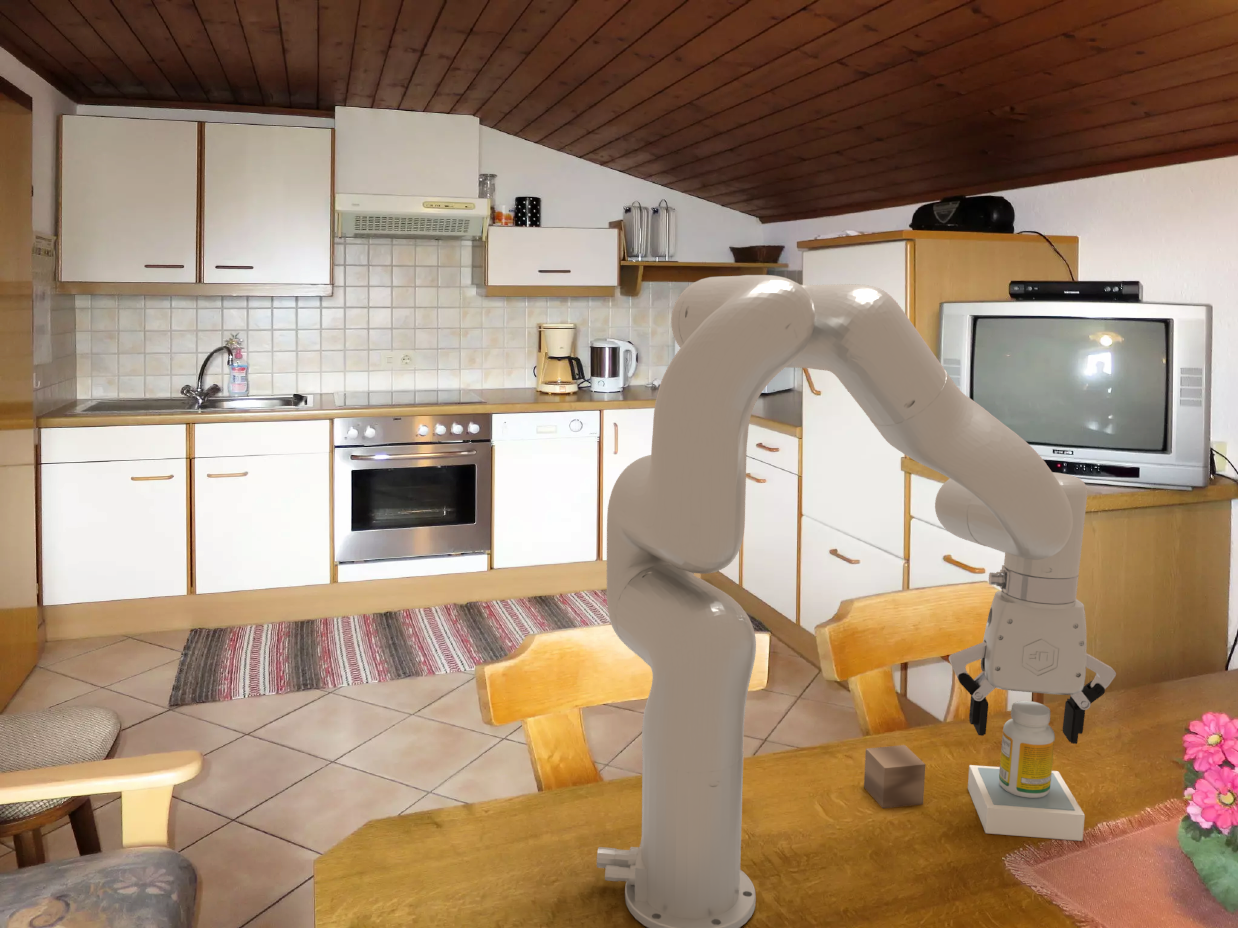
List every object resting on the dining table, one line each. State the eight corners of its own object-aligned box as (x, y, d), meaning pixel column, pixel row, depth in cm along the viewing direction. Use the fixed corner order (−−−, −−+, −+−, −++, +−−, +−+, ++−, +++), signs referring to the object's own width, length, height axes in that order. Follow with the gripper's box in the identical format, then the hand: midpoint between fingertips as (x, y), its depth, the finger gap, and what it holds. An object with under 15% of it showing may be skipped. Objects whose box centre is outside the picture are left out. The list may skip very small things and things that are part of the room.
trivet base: (985, 832, 108) (987, 806, 108) (967, 788, 118) (969, 763, 117) (1082, 840, 107) (1084, 813, 106) (1056, 794, 117) (1058, 769, 116)
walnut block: (882, 808, 114) (884, 768, 113) (863, 787, 118) (865, 748, 117) (923, 804, 114) (925, 764, 114) (902, 783, 119) (904, 744, 118)
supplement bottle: (989, 785, 112) (995, 705, 111) (1014, 771, 116) (1020, 693, 114) (1034, 804, 108) (1041, 721, 106) (1059, 789, 111) (1066, 709, 110)
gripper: (963, 590, 105) (949, 741, 108) (1136, 601, 103) (1117, 756, 106) (950, 571, 113) (938, 714, 115) (1111, 582, 110) (1095, 727, 113)
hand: (1024, 734), depth 110 cm, fingers open, 9 cm apart
